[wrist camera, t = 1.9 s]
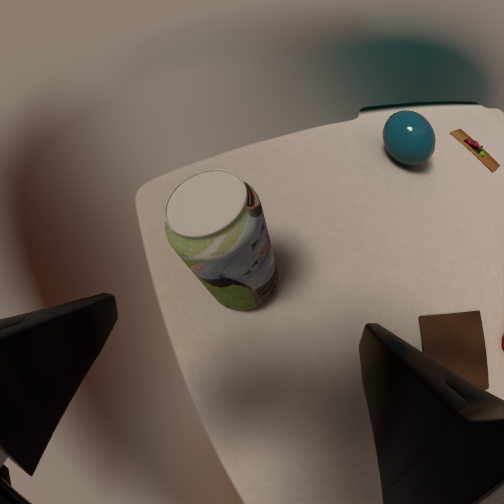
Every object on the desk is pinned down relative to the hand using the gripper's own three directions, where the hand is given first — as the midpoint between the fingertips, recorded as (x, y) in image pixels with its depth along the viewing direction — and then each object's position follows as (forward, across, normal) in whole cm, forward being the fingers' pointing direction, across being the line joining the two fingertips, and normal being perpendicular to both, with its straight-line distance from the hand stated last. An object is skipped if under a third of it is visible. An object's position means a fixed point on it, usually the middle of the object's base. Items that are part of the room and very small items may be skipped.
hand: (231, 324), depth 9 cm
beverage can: (+15, +2, +6) cm, 16 cm away
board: (+40, -41, -16) cm, 59 cm away
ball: (+32, -19, -9) cm, 38 cm away
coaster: (+10, -20, +10) cm, 25 cm away
